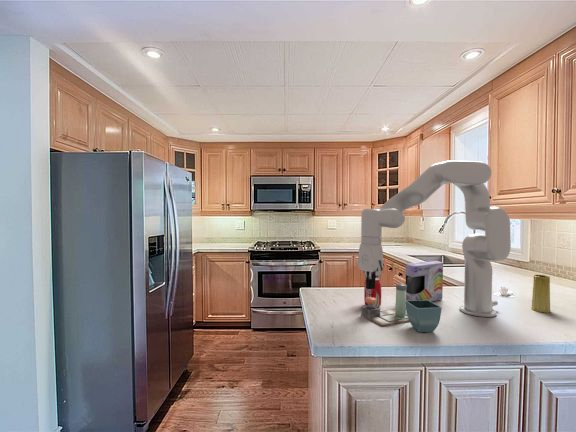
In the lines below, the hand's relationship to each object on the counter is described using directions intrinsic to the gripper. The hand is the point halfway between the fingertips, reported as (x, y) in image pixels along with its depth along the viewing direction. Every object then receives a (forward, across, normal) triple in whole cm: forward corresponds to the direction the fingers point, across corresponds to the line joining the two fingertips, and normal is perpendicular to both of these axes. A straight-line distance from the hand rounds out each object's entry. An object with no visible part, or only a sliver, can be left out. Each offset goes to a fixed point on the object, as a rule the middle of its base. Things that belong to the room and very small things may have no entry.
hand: (370, 288), depth 117 cm
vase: (+11, +22, +70) cm, 74 cm away
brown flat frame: (+11, +4, +6) cm, 13 cm away
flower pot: (+11, +17, +9) cm, 22 cm away
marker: (+10, +6, +10) cm, 15 cm away
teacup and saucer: (+11, +4, +80) cm, 81 cm away
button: (+8, 0, 0) cm, 8 cm away
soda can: (+11, -10, +10) cm, 18 cm away
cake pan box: (+11, -6, +35) cm, 37 cm away
